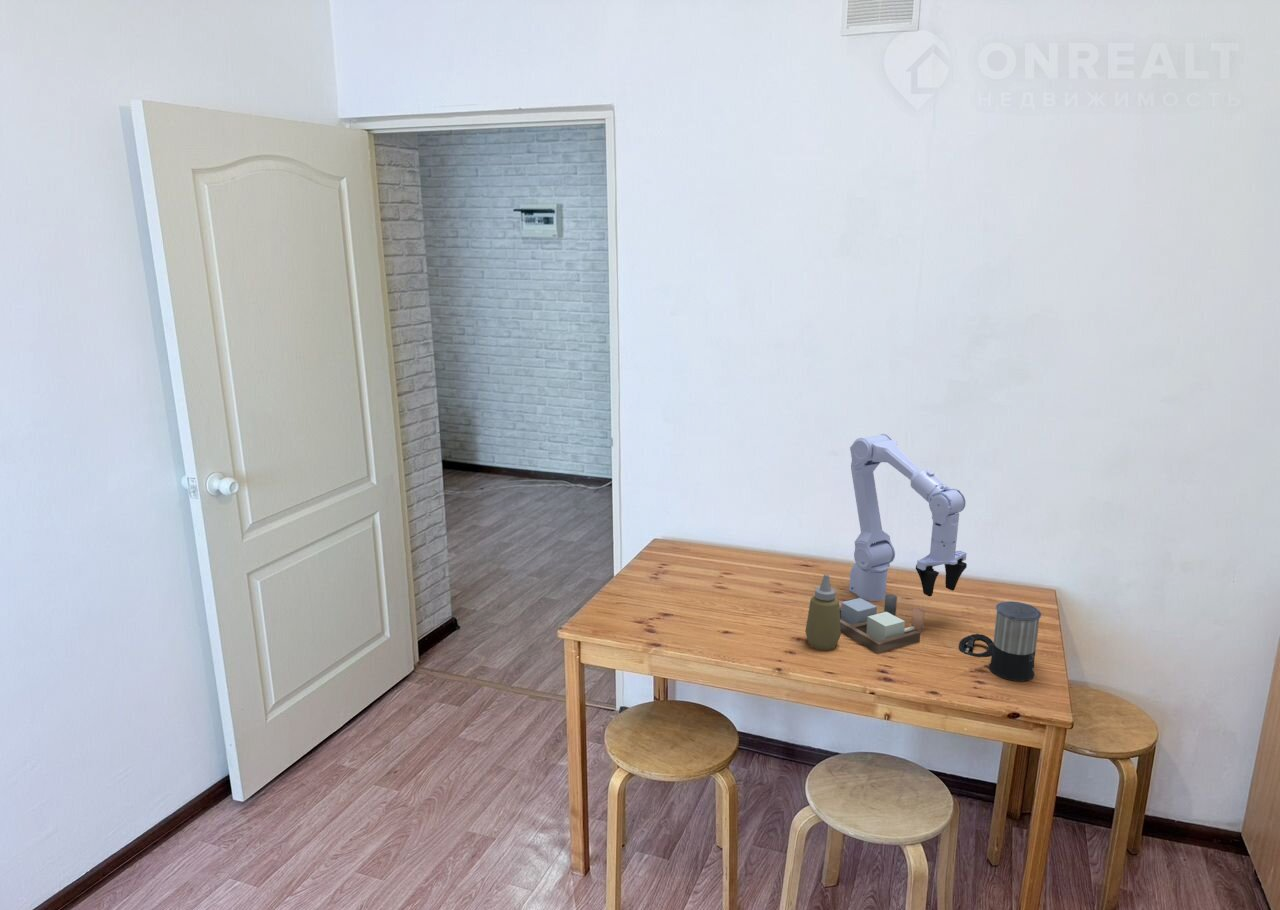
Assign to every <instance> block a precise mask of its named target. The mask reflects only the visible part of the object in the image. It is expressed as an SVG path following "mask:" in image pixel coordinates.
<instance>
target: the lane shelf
mask: <svg viewBox="0 0 1280 910" xmlns="http://www.w3.org/2000/svg"><path fill="white" fill-rule="evenodd" d="M839 608H840V618H841V607H840V606H839ZM840 630H841V633H842V634H843V635H844V636H847V637H849V638H850V639H852V640H853V641H855V642H857V643H858V644H859V645H862V646H864V647H866V648H867V649H868V650H870V651H872V652H873V653H876V654H877V655H879V654H884V653H887V652H890V651H894V650H897V649H900V648H904V647H908V646H910V645H914V644H918V643H920V642H921V632H919V631H909V632H905V633H904V634H902V635H899V636H895V637H891V638H888V639H884V640H881V641H878V640H876V639H874V638H873V637H871V636H869V635H867V634H866V631H867V621H866V622H862V623H859V624H855V625H850V624H848V623H846V622H845V621H843V620H841V619H840Z"/></svg>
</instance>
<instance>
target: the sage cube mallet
mask: <svg viewBox="0 0 1280 910" xmlns="http://www.w3.org/2000/svg"><path fill="white" fill-rule="evenodd" d="M925 615H926V611H925V609H923V608H921V607H913V608H912V613H911V624H910V626H908V627H905V625H906V624H905V623H906V621H905V620H904V619H901V618H900V617H898V616H897V615H896V616H894V615H892V614H890V613H888V612H884V611H883V612H879V613H877V614H875V615H871V616H868V617H867V631H866V634H867V635H869V636H871V637H873V638H874V639H876V640H878V641H881V640H884V639H888V638H891V637H895V636H899V635H902V634H906V633H909V632H913V631H919V632H920V633H921V632H923V631H924V627H925V626H924V625H925Z"/></svg>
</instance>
